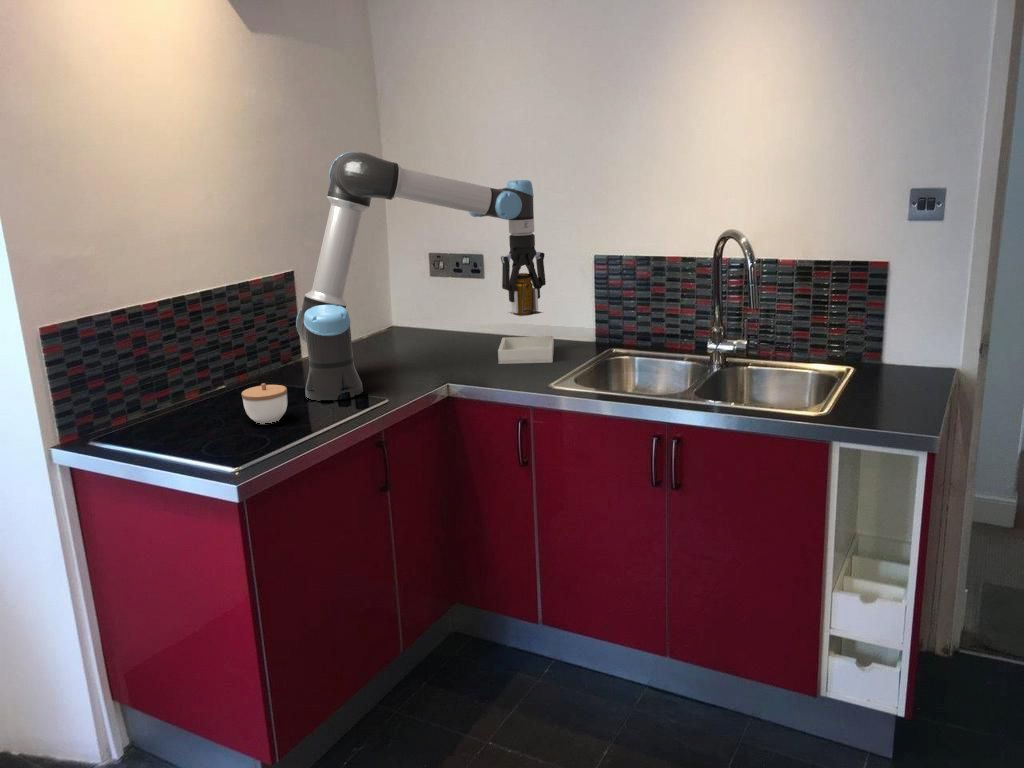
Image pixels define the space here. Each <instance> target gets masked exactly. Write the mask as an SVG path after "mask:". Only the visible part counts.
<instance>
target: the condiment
mask: <svg viewBox="0 0 1024 768" xmlns="http://www.w3.org/2000/svg"><path fill="white" fill-rule="evenodd" d="M533 288H534V286H533V283H532V281H531V274H529V272H527V273H526V272H519V274H518V279H517V283H516V287H515V291H517V295H518V313H514V312H512V311H508V313H509V314H511V315H514V316H518V317H527V316H532V315H538V314H541V313H542V314H543V313H544V311H543V312H542V311H539V310H533Z"/></svg>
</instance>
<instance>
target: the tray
mask: <svg viewBox="0 0 1024 768" xmlns="http://www.w3.org/2000/svg"><path fill="white" fill-rule="evenodd" d="M554 340H555V339H554V336H553V335H552V336H551V335H546V336H545V335H543V336H542V335H541V336H515V337H502V338H501V342H500V344H499V347H498V350H497V357H498V365H501V364H502V365H503V364H504V365H505V364H506V365H507V364H509V365H511V364H539V363H542V364H543V363H544V364H545V363H553V362H554V351H555V345H554V342H555V341H554Z"/></svg>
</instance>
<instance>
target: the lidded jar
mask: <svg viewBox="0 0 1024 768" xmlns="http://www.w3.org/2000/svg"><path fill="white" fill-rule="evenodd" d="M241 398H242V403H243V408H244V410H245V413H246V415H247V416H248V417H249V418H250V419H251V420H252V421H254V422H256V423H255V424H257V423H260V424H259V425H266V424H265V423H271V424H273V423H272V422H275V423H277V422H276V421H278V422H280V421H281V420H280V419H281V418H283V416H284V415H285V414H286V411H287V407H288V388H287V386H284V385H280V384H266V382H265V383H261V384H260V385H256V386H252V387H249V388H247V389H244V390H243V391H242V392H241ZM279 420H280V421H279Z"/></svg>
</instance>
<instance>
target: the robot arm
mask: <svg viewBox="0 0 1024 768" xmlns="http://www.w3.org/2000/svg"><path fill="white" fill-rule="evenodd" d="M328 174H329V185H328V191H327V195H326V198H327V200H328V201H329V203H330V207H329V208H330V209H329V213H328V217H327V222H326V225H325V231H324V235H323V240H322V243H321V249H320V252H319V257H318V262H317V265H316V269H315V274H314V279H313V284H312V288H311V290H310V291H308V292H306V293H305V294H304V297H303V302H302V305H301V308H300V310H299V311H298V314H297V315H296V319H295V320H296V321H295V326H296V331H297V333H298V335H299V337H300V338H301V340H303V342H305V343H306V348H307V349H306V350H307V357H308V364H309V365H308V366H309V371H308V375H307V379H306V385H305V391H304V392H305V398H306V397H307V398H309V399H311V400H317V401H319V400H336V399H337V398H338V396H339V395H340V394H341V393H345V392H350V393H351V394H352V395H353V394H354V393H360V392H364V389H363V382H362V380H361V378H360V376H359V374H358V371H357V369H356V367H355V362H354V353H353V352H354V351H353V343H352V341H353V340H352V333H351V330H352V329H351V318H350V314H349V311H348V310H347V303H346V301H345V298H344V292H345V289H346V284H347V281H348V280H347V279H348V275H349V272H350V266H351V262H352V259H353V258H352V257H353V254H354V253H353V252H354V249H355V245H356V240H357V236H358V232H359V228H360V223H361V219H362V214H363V213H364V212H365V211H366V210H369V209H370V205H371V202H372V201H371V200H372V198H375V199H384V200H390V201H392V200H395V198H398V199H403V200H409V201H414V202H418V203H423V204H424V203H425V204H428V205H434V206H439V207H443V208H444V207H445V208H447V209H454V210H459V211H464V212H468V214H469V215H470V216H471V217H474V218H478V217H479V218H482V217H491V218H498V219H501V220H506V221H507V220H508V233H509V234H510V235H509V237H508V238H509V249H510V250H509V252H508V254H507V255H501V256H500V260H501V265H502V267H501V268H502V274H501V276H502V277H501V278H502V279H501V280H502V281H501V283H502V284H501V286H502V287H501V288H502V289H503V290H505V291H508V300H509V302H511V312H514V313H518V295H517V291H515V287H516V283H517V279H518V274H519V273H520V270H521V268H522V266H525V267H526V268H527V271H528V272H527V273H528V274H531V283H532V284H533V310H536V311H539V299H541V289H542V287H543V286H546V273H545V265H544V264H545V263H544V259H545V252H540V251H537V250H536V248H535V247H536V238H535V234H534V232H535V218H534V217H535V216H534V189H533V184H532V182H531V181H530V180H528V179H519V180H509V181H507V182H506V187H503V188H493V187H489V186H485V185H484V186H483V185H480V184H475V183H471V182H466V181H460V180H457V179H453V178H449V177H444V176H438V175H435V174H429V173H426V172H425V173H424V172H420V171H416V170H411V169H408V168H402V166H400V163H398V162H392V161H390V160H386V159H383V158H379V157H377V156H375V155H371V154H369V153H366V152H361V151H360V152H358V151H357V152H355V151H348V152H344V153H343V154H341V155H339V156H338V157H337V158H335V159H334V161H333V163H332V164H331V166H330V169H329V173H328ZM534 258H535V259H536V261H535V262H536V267H535V262H534ZM511 260H512V266H511V265H510V263H511ZM510 266H511V268H510ZM510 269H511V270H510ZM510 271H511V272H510ZM307 398H306V399H307ZM311 400H310V401H311ZM317 401H316V402H317Z"/></svg>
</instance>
